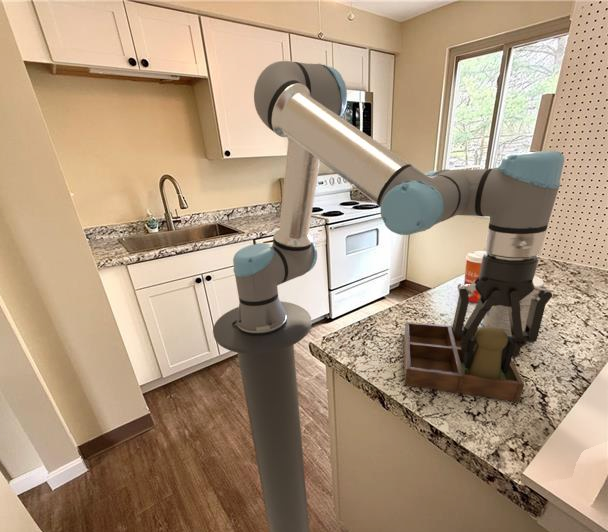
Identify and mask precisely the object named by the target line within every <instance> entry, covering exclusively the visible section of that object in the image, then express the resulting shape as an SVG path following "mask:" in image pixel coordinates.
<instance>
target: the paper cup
mask: <svg viewBox="0 0 608 532" xmlns="http://www.w3.org/2000/svg"><path fill="white" fill-rule="evenodd" d="M485 253H486V251H485V250H475V251H470V252H468V253H467V255H466V257H465V260H466V261H465V262H466V263H465V271H464V280H463V281H464V282H463V284H464V285H469V284H473V283H475V281H476V280H477V279H478V277H479V274H480V269H481V263H482V258H483V255H484V254H485ZM480 297H481V296H480V294H479V293H478V291H477V290H475V291H474V292H473V295H472V296H471V297H469V303H476V304H478V300H479V298H480Z"/></svg>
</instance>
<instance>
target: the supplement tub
mask: <svg viewBox="0 0 608 532" xmlns="http://www.w3.org/2000/svg"><path fill="white" fill-rule="evenodd" d="M533 284H534V286H536V287H545V286H544V285H545V281H544V280H543V279H542V278H540V277H538V276H536V275H534V278H533ZM531 300H532V297H531V293H530V294H529V295H527V296H526V297H525V298H523V299H522V300H521V301H519V302H520V310H521V311H520V316H521V323H522V331H523V332H524V331H525V326H526V322H527V317H528V313H529V308H530V304H531ZM485 326H490V327H496V328H499V329H501V330H503V331H504V332H505V333H506V334H507V336H508V337H511V338H512V334H511V327H510V320H509V313H508V307H506V306H502V305H498V306H492V308H491V309H490V310H489V311H488V312H487V313H486V315H485V316H484V318H483V320H482V321H481V327H485ZM481 327H480V328H481Z"/></svg>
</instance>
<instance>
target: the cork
mask: <svg viewBox="0 0 608 532" xmlns="http://www.w3.org/2000/svg"><path fill="white" fill-rule="evenodd" d="M478 328H479V329H478V330H477V331H476V333H475V342H476V346H475V348H474V351H473V355H472V360H471V365H470V369H468V368H466V370H465V374H466V375H474V376H482V377H489V378H497V379H500V375H501V360H502V349H503V348H505V346H506V345H507V343H508V336H507V334H506V333H505V332H504V331H503V330H501V329H499V328H496V327H490V326H485V327H478Z"/></svg>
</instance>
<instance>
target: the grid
mask: <svg viewBox="0 0 608 532" xmlns="http://www.w3.org/2000/svg"><path fill="white" fill-rule="evenodd" d="M404 323H405V324H404V334H403V340H404V341H403V344H404V345H403V346H404V350H403V354H404V357H403V358H404V386H408V387H409V386H411V387H416V388H424V389H431V390H436V391H443V392H450V393H457V394H464V395H471V396H477V397H483V398H484V397H485V398H491V399H495V400H497V399H498V400H504V401H510V402H516V403H520V400H521V397H522V393H523V390H524V387H525V383H524V381H523V379H522V377H521V375H520V374H519V370H518V369H517V367H516V365H515V364H514V363H515V362H514V361H513V358H512V359H511V362H510V366H509V370H508V373H503V372H502V370H501V375H500V379H497V378H489V377H482V376H474V375H466V374H465V370H466V368H465V365H464V361H463V358H464V353H465V352H462V350H461V347H460V343H461V338H462V336H457V335H455V334H454V331H453V328H452V326H453V325H450V324H449V325H446V324H436V323H424V322H423V323H422V322H410V321H405V322H404ZM463 328H464V326H463ZM479 328H480V327H478V328H477V329H476V331H477V330H478V329H479ZM476 331H475V333H476ZM475 333H474V334H473V336H474V338H475ZM475 346H476V342H475ZM475 346H474V348H475ZM473 351H474V350H473ZM502 351H503V349H502Z"/></svg>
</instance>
